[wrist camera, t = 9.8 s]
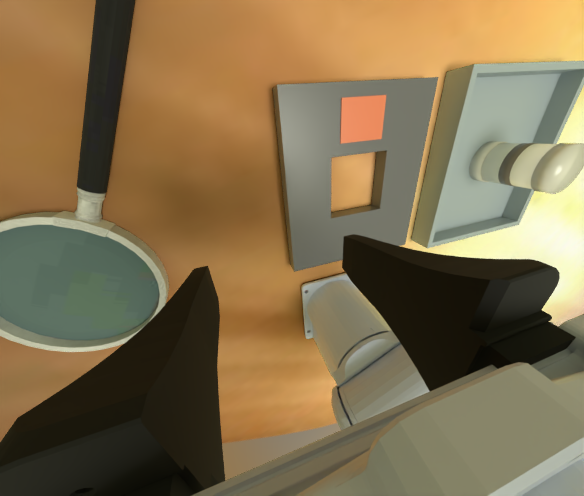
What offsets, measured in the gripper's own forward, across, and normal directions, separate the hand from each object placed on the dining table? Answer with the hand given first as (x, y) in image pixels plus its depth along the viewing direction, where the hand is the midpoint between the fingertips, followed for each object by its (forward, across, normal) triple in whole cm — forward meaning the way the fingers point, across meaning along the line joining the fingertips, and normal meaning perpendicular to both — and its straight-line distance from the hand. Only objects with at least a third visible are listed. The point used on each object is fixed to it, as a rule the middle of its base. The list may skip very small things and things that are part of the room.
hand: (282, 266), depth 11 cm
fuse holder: (+10, -10, -1) cm, 14 cm away
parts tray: (+10, -27, -1) cm, 29 cm away
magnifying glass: (+11, +11, -3) cm, 16 cm away
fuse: (+10, -27, -1) cm, 29 cm away
